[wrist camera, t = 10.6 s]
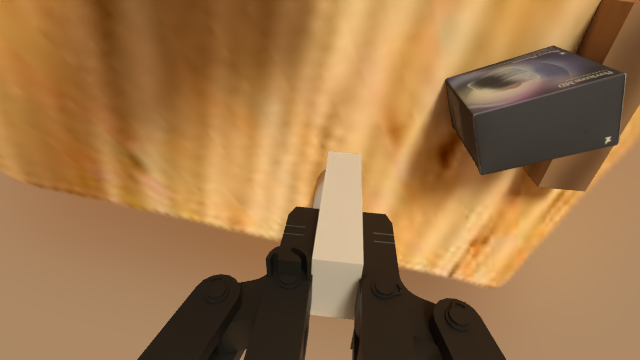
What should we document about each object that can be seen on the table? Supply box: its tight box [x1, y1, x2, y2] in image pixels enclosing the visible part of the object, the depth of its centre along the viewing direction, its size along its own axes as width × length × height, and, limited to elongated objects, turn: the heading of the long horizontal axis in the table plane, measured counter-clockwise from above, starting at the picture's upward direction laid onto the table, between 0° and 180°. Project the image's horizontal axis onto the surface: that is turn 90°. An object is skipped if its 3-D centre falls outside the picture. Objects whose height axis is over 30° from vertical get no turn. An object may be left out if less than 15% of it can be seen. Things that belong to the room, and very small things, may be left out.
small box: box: [445, 46, 627, 175], centre depth 30 cm, size 11×6×10 cm, turn 111°
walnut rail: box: [523, 0, 640, 191], centre depth 32 cm, size 5×18×4 cm, turn 177°
